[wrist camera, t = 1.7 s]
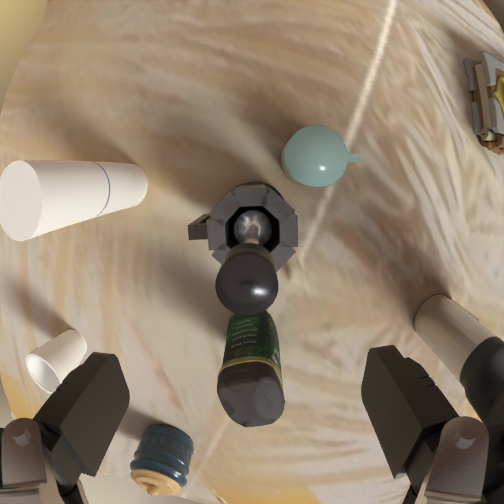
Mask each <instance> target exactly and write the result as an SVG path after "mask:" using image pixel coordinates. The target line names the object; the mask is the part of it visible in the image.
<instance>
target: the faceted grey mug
mask: <svg viewBox="0 0 504 504" xmlns="http://www.w3.org/2000/svg"><path fill="white" fill-rule="evenodd" d="M249 210H258V211H261V212H262V213H264V214H265V215H266V216H267V217H268V218H269V220H270V222H271V226H272V233H271V236H270V238H269V240H268V241H267V242H266V243H265V244H264V245H263V247H264V248H266V249H267V250H268V251H269V252H270V254H271V255H272V257H273V260H274V263H275V268H276V272H277V271H278V270H279V269H280V268H281V267H282V266H283V265H284V263H285V262H286V261H287V260H288V259H289V258H290V257H291V256H292V255H293V254H294V253H295V252H296V251H295V249H294V247H298V218H297V215H296V214H295V213H294V211H295V210H294V209H293V208H292V207H291V206H290V205H288V204H287V203H286V202H285V201H284V199H283V197H282V196H281V194H280V193H279V192H278V191H277V190H276V189H274V188H273V187H271V186H269V185H267V184H264V183H260V182H248V183H244V184H242V185H240V186H238V187H236V188H235V189H233V190H231V191H229V192H228V193H227V194H226V195H225V196H224V197H223V199H222V200H221V201H220V202H219V203H218V204H217V205H216V206H215V208H214V209H213V210H212V211H211V212H210V213H209V214H204V215H202V216H201V217H199V218H198V219H196V220H195V221H193V222H192V223H191V224H189V225H188V234H189V240H198V239H208V245H209V250H214V252H213V254H212V256H213V257H214V258H215V259H216V260H218V261H219V262H220V263H221V264H222V263H223V261H224V258H225V256H226V255H227V253H228V252H229V251H230V250H231V249H232V248H233V247H235V246H236V245H239V244H241V243H240V242H239V241H238V240H237V238H236V236H235V233H234V225H235V222H236V220H237V219H238V217H239V216H240V215H241V214H242V213H244V212H246V211H249Z"/></svg>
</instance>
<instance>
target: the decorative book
mask: <svg viewBox="0 0 504 504" xmlns="http://www.w3.org/2000/svg"><path fill="white" fill-rule="evenodd" d="M478 54H479V57H480V59H481V62H477V61H475V60H474V61H473V60H471V59H470V58H467V59H464V60H463V62H464V65H465V69H466V72H467V76H468V83H469V91H473V96H474V102H471V108H472V113H473V129H474V133H475V134H476V135H479V136H480V137H481V139H480V142H481V145H482V146H484V147H487V148H488V150H491V151H493V152H494V153H497V154H499V155H502V154H504V63H503V62H501V61H499V60H498V59H496V58H494V57H493V56H492V55H490V54H489V53H488V52H486V51H485V50H484V51H482V52H479V53H478Z"/></svg>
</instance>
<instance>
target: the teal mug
mask: <svg viewBox="0 0 504 504" xmlns="http://www.w3.org/2000/svg"><path fill="white" fill-rule="evenodd" d="M353 162H360V154H349V153H348V152H347V148H346V145H345V143H344V141H343V140H342V138H341V137H340V136H339V135H338V134H337V133H336V132H335V131H333V130H332V129H330V128H328V127H325V126H321V125H310V126H306V127H304V128H302V129H300V130H298V131H297V132H296V133H295V134H294V135H293V136H292V137H291V139H290V140H289V141H288V142H287V143H286V145H285V146H284V148H283V150H282V153H281V166H282V169H283V171H284V173H285V174H286V176H287V177H288V178H289V179H291V180H292V181H294V182H295V183H298V184H301V185H307V186H313V187H324V186H328V185H331V184H333V183H335V182H336V181H337V180H338V179H340V178H341V176H342V175H343V174H344V172H345V170H346V167H347V163H353Z"/></svg>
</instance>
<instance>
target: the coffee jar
mask: <svg viewBox="0 0 504 504" xmlns="http://www.w3.org/2000/svg"><path fill="white" fill-rule="evenodd" d="M217 393H218V396H219V399H220V401H221V404H222V406H223V408H224V409H225V411H226V412H227V414H228V416H229V417H230V418H231V419H232V420H233V421H235V422H236V423H238V424H240V425H242V426H244V427H255V426H263V425H268V424H272V423H274V422H275V421H276V420H277V419H278V418H279V417H280V416H281V415H282V413H283V411H284V404H285V400H284V392H283V384H282V375H281V363H280V352H279V341H278V334H277V330H276V327H275V324H274V321H273V319H272V317H271V316H270V314H269V313H268V312H266V311H263V312H261V313H258V314H254V315H240V314H235V315H234V316H233V317H232V318H231V319H230V321H229V325H228V331H227V339H226V346H225V352H224V358H223V364H222V368H221V369H220V371H219V374H218V383H217Z"/></svg>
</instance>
